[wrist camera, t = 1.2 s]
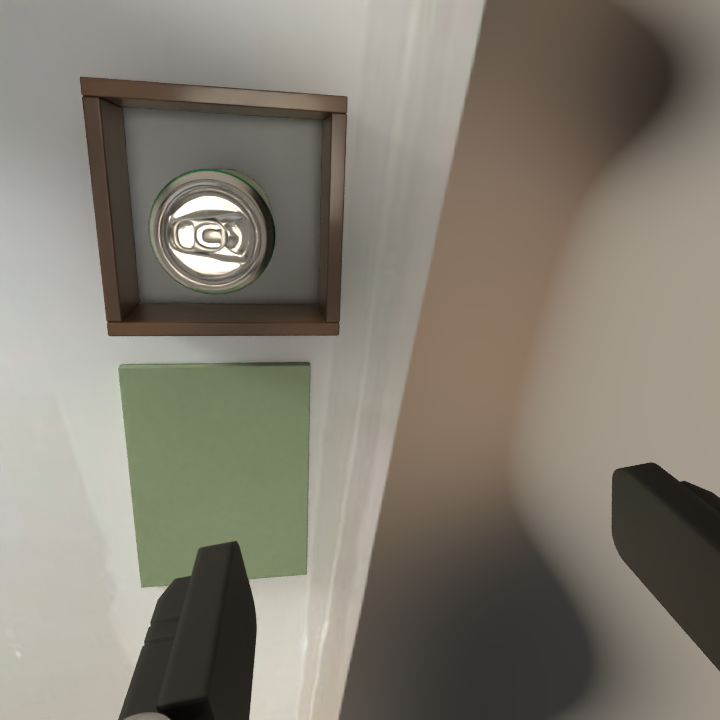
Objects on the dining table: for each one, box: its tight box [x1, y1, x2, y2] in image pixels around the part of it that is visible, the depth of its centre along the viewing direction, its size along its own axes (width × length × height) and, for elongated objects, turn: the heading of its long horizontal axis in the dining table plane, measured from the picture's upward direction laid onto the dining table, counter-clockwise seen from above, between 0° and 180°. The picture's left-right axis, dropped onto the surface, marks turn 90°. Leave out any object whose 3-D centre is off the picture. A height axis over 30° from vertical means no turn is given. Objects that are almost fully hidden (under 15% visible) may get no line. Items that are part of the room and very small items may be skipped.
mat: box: [118, 363, 310, 587], centre depth 38 cm, size 12×17×1 cm
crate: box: [80, 77, 348, 336], centre depth 30 cm, size 13×13×4 cm
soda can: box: [149, 169, 275, 294], centre depth 27 cm, size 5×5×12 cm
